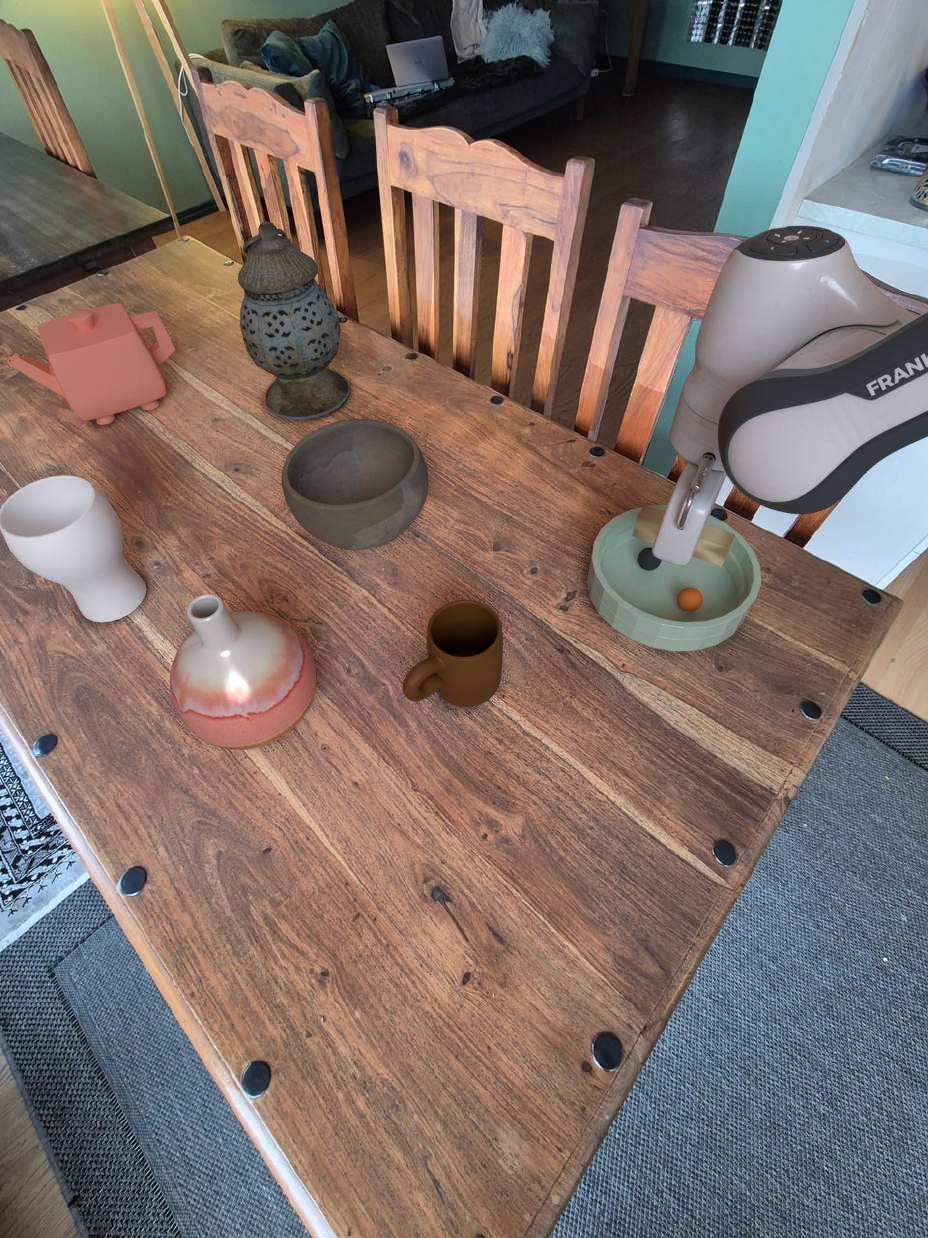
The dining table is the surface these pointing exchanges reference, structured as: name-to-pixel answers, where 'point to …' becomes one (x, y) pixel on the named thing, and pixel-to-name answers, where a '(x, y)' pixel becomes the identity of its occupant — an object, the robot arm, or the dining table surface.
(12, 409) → the dining table surface
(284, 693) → the vase
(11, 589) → the dining table surface
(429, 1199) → the dining table surface
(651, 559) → the bead
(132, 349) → the teapot
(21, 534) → the cup
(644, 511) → the stick
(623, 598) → the bowl
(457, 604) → the mug
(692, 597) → the bead
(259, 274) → the lantern
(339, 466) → the bowl
